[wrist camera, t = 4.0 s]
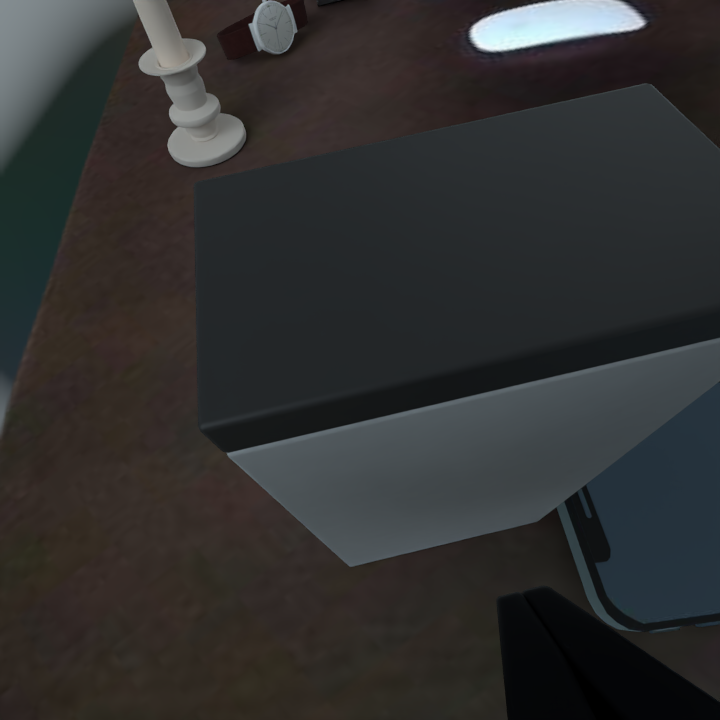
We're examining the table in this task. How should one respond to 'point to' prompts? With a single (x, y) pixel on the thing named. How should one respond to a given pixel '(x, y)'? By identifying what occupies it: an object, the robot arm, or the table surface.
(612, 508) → the smartphone
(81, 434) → the table surface
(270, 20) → the watch
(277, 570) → the table surface
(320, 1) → the building blocks
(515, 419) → the box with lid
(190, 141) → the candle
